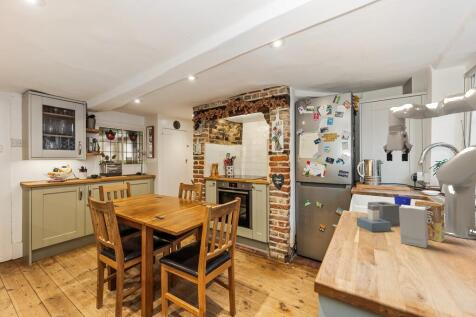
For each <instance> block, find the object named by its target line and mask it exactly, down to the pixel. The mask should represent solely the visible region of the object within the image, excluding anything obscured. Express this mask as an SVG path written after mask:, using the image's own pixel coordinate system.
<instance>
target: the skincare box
mask: <svg viewBox="0 0 476 317" xmlns="http://www.w3.org/2000/svg"><path fill="white" fill-rule="evenodd" d="M399 217H400V225H399V230H400V231H399V236H400V244H404V245H409V246H415V247H419V248H425V249H426V248H428V245H429V239H428V229H427V210H426V207H420V206H415V205H410V206H409V205H401V206H400V207H399Z"/></svg>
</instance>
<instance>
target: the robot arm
mask: <svg viewBox="0 0 476 317" xmlns="http://www.w3.org/2000/svg"><path fill="white" fill-rule="evenodd" d="M475 111H476V86H474V87H472V88H470V89H469V90H468V91H466V92H465V91H464V92H461V93H456V94H450V95H447V96H445V97H444V98H443V99H441V100H439V101H436V102H431V103H426V104H419V103H415V102H414V103H413V102H410V103H406V104H403V105H400V106H393V107H390V108H389V109H388V132H387V138H386V144H385V145H384V146H383V147H382V148H383V150H384V152H385V155H386V161H387V162H392V161H393V152H394V151H401V162H408V161H409V154H410V152H411V151H412V148H413V144H411V143H410V141H409V135H408V134H409V133H408V132H407V131H406V129H407V125H406V119H412V120H413V119H414V120H425V119H432V118H439V117H443V116H449V115H453V114H454V115H455V114H460V113H461V114H462V113H467V112H468V113H469V112H475ZM435 177H436V179H437V181H439V183H441V184H443V185H445V190H444V235H448V236H451V237H453V238H454V237H456V238H461V239H468V240H476V144H473V145H470V146H467V147H464V148H463V149H461V150H460V151H458V152H457V153H456V154H454V155H453V156H452V157H449V159H448V160H447V161H445V162H444V163H443V164H441V165H440V166H439V167H438V168H437V169H436V172H435Z"/></svg>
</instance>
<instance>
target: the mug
mask: <svg viewBox="0 0 476 317" xmlns="http://www.w3.org/2000/svg"><path fill="white" fill-rule="evenodd" d="M393 198H394V199H393V200H394V204H397V205H400V206H401V205H409V206H412V205H411V204H412V197H409V196H403V195H402V196H401V195H400V196H399V195H396V196H393Z"/></svg>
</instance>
